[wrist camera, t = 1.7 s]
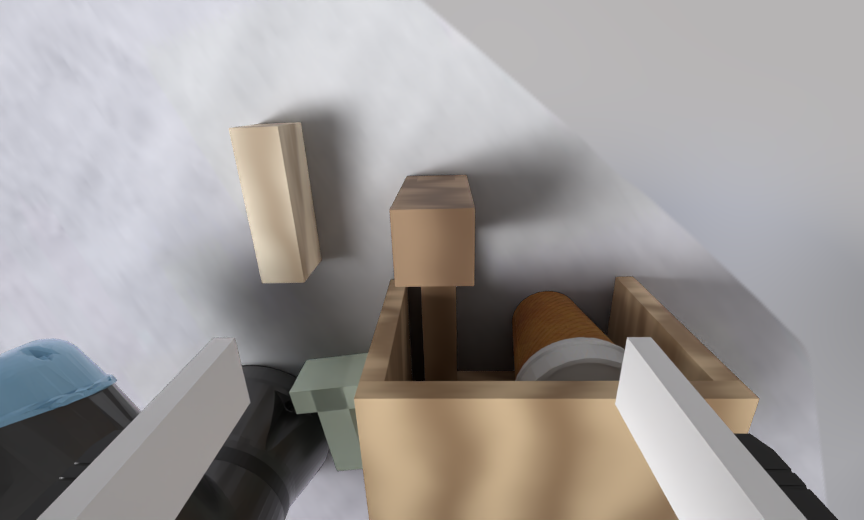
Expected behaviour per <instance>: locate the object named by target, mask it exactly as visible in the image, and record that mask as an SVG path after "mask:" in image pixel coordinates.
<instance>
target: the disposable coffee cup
mask: <svg viewBox="0 0 864 520" xmlns="http://www.w3.org/2000/svg"><path fill="white" fill-rule="evenodd" d="M512 329H513V350H514V351H513V352H514V366H515V381H619V380H620V374H621V369H622V363H623V358H624V352H625V349H623V348H622V347H620V346H617V345H615V344H614V343H613V342H612V341H611V340H610V339H609V338H608V337H607V336H606V335H605V334H604V333H603V332H602V331H601V330H600V329H599V328H598V327H597V326H596V325H595V324H594V323H593V322H592V321H591V319H589V318H588V317H587V316H586V315H585V314H584V313H583V312H582V310H580V308H578V307H577V305H576V304H575V303H574V302H573V301H572V300H571V299H570V298H569V297H567V296H565V295H564V294H561V293H558V292H553V291H543V292H538V293H535V294H533V295H530V296H529V297H527V298H525V299H524V300H523V301H522V302H521V303H520V304H519V305H518V306H517V308H516V309H515V311H514V314H513V318H512Z"/></svg>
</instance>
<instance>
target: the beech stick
mask: <svg viewBox="0 0 864 520" xmlns="http://www.w3.org/2000/svg"><path fill="white" fill-rule="evenodd" d="M229 132H230V137H231V141H232V146H233V151H234V155H235V160H236V165H237V169H238V174H239V179H240V183H241V188H242V193H243V197H244V202H245V207H246V211H247V216H248V221H249V225H250V230H251V235H252V239H253V244H254V249H255V253H256V258H257V263H258V267H259V272H260V277H261V281H262V283H304V282H305V281H306V280H307V279H308V277H309V276H310V275H311V273H312V272H313V271H314V269H315V268H316V267H317V266H318V264H319V263H320V262H321V260H322V259H321V253H320V246H319V239H318V233H317V226H316V219H315V213H314V206H313V199H312V193H311V186H310V179H309V173H308V166H307V159H306V153H305V146H304V139H303V133H302V126H301V122H297V123H271V124H255V125H248V126H241V127H234V128H229Z"/></svg>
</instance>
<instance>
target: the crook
mask: <svg viewBox="0 0 864 520" xmlns="http://www.w3.org/2000/svg"><path fill="white" fill-rule="evenodd" d="M390 223H391V237H392V251H393V266H394V280H395V287H421V302H422V324H423V347H424V370H425V381H515V371H457V326H456V286H474V266H475V206H474V202H473V198H472V194H471V190H470V186H469V182H468V178H467V175H434V176H407V177H406V179H405V181H404V183H403V185H402V187H401V189H400V191H399V192H398V194H397V196H396V198H395V200H394V202H393V204H392V206H391V208H390Z"/></svg>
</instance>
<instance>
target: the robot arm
mask: <svg viewBox="0 0 864 520" xmlns="http://www.w3.org/2000/svg"><path fill="white" fill-rule="evenodd" d="M296 379H297V378H296V377H294V376H292V375H290V374H288V373H285V372H282V371H279V370H276V369H272V368H267V367H260V366H244V367H242V365H241V361H240V357H239V352H238V348H237V344H236V340H235V338H213V339H212V340H211V341H210V342H209V343H208V344H207V345H206V346H205V347H204V348H203V349H202V350H201V351H200V352H199V353H198V354H197V355H196V356H195V357H194V358H193V359H192V360H191V361H190V362H189V363H188V364H187V365H186V366H185V367H184V368H183V369H182V370H181V371H180V372H179V374H178V375H177V376H176V377H175V378H174V379H173V380H172V381H171V382H170V383H169V384H168V385H167V386H166V387H165V388H164V389H163V390H162V391H161V392H160V393H159V394H158V395H157V396H156V397H155V398H154V399H153V400H152V401H151V402H150V403H149V404H148V405H147V406H146V407H145V408H144V409H143V411H142V412H141V411H140V409H139V408H138V407H137V406H136V405H135V404H134V403H133V402H132V401H131V400H130V399H129V398H128V397H127V396H126V395H125V394H124V393H123V392H122V391H121V390H120V389H119V387H118V386H117V385H116V384H115V382H116V381H117V379H116V378H115V377H114V376H113V375H109V374H106V373H105V372H104V371H103V370H101V369H100V368H99V367H98V366H97V365H96V364H95V363H94V362H93V361H92V360H91V359H90V358H89V357H88V356H86V355H85V354H84V353H83V352H82V351H81V350H80V349H79V348H78V347H77V346H75V345H74V344H72V343H70V342H68V341H65V340H60V339H41V340H36V341H32V342H29V343H27V344H24V345H22V346H19V347H17V348H14V349H12V350H9V351H7V352H5V353H2V354H0V520H285V518H286V515H287V513H288V510H289V508H290V506H291V504H292V503H293V502H294V501H295V500H296V498H297V497H298V496H299V495H300V493H301V492H302V491H303V490H304V488H305V487H306V486H307V485H308V483H309V482H310V481H311V479H312V478H313V477H314V475H315V474H316V473H317V472H318V471H319V469H320V468H321V467H322V465H323V463H324V461H325V459H326V457H327V454H328V451H329V445H328V442H327V439H326V436H325V433H324V430H323V427H322V424H321V421H320V418H319V415H318V412H313V413H303V414H296V411H295V408H294V405H293V402H292V400H291V397H290V394H289V392H290V390H291V388H292V386H293V384H294V383H295V381H296ZM615 405H616V407H617V408H618V410H619V412H620V414H621V416H622V418H623V419H624V421H625V423H626V425H627V427H628V428H629V430H630V432H631V434H632V436H633V438H634V439H635V441H636V443H637V445H638V447H639V448H640V450H641V452H642V454H643V456H644V458H645V459H646V461H647V463H648V465H649V467H650V468H651V470H652V472H653V474H654V476H655V478H656V479H657V481H658V483H659V485H660V487H661V488H662V490H663V492H664V494H665V496H666V497H667V499H668V501H669V503H670V505H671V507H672V508H673V510H674V512H675V514H676V516H677V517H678V519H679V520H838V519H837V518H836V517H835V516H834V515H833V514H832V513H831V512H830V511H829V509H828V508H827V507H826V506H825V505H824V504H823V503H822V502H821V501H820V500H819V499H818V498H817V496H816V495H815V494H814V493H813V492H812V491H811V490H810V489H807V488H806V485H805V484H804V482H803V481H802V480H801V479H800V478H799V477H798V476H797V475H796V474H795V473H792V472H791V468H790V467H789V466H788V465H787V464H786V463H785V462H784V461H783V460H782V459H781V458H780V457H779V456H778V454H777V453H776V452H775V451H774V450H773V449H771V448H770V447H768V446H767V445H766V444H764V443H763V442H761V441H760V440H758V439H757V438H755V437H754V436H753V435H751V434H740V433H733V432H732V431H731V430H730V429H729V428H728V427H727V425H726V424H725V423H724V422H723V421H722V419H721V418H720V417H719V416H718V415H717V414H716V412H715V411H714V410H713V409H712V408H711V407H710V405H709V404H708V403H707V402H706V401H705V400H704V398H703V397H702V396H701V395H700V394H699V393H698V391H697V390H696V389H695V388H694V387H693V386H692V384H691V383H690V382H689V381H688V380H687V379H686V377H685V376H684V375H683V374H682V373H681V372H680V370H679V369H678V368H677V367H676V366H675V365H674V363H673V362H672V361H671V360H670V359H669V358H668V356H667V355H666V354H665V353H664V352H663V350H662V349H661V348H660V347H659V346H658V345H657V343H656V342H655V341H654V340H653V339H652V338H651V337H627V341H626V347H625V352H624V358H623V363H622V369H621V374H620V380H619V385H618V391H617V396H616V402H615Z"/></svg>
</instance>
